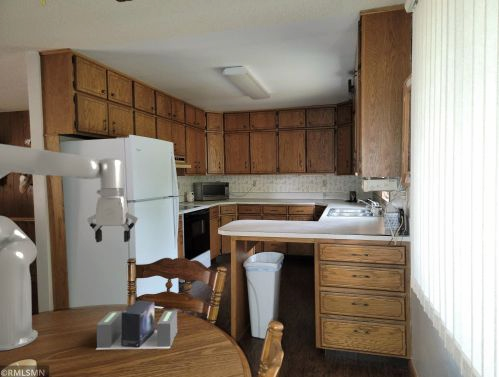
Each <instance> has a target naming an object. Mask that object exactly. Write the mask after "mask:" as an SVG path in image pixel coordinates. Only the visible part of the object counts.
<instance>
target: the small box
mask: <svg viewBox="0 0 499 377" xmlns="http://www.w3.org/2000/svg"><path fill="white" fill-rule="evenodd" d="M155 306H156V305H155V301H152V300H151V301H150V300H149V301H148V300H136V301H135V302H134V303H132V304H131V305H130V306H128V307H126V309H124V310H122V312H121V313H122V319H121V320H122V321H121V323H122V324H121V328H122V331H121V333H122V334H121V346H129V347H140V346H141V345H142V344H143V343H144V342H145V341H146V340H147V339H148V338H149V337H150V336H151V335H152V334H153V333H154V332H155V330H156V329H155V320H156V319H155V314H156V313H155V308H156V307H155Z"/></svg>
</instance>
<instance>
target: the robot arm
mask: <svg viewBox="0 0 499 377" xmlns="http://www.w3.org/2000/svg"><path fill="white" fill-rule="evenodd" d="M10 173H15V174H16V173H18V174H26V175H35V176H44V177H45V176H57V177H66V178H74V179H82V180H93V179H96V180H97V179H100V188H99V189H98V190H97V191H96V194H97V195H99V197H97V202H96V209H95V214H94V215H92V216H90V217H88V218H87V219H86V220H87V222H88V224H89V226H90V228H92V230H93V231H94V239H95V242H96V243H100V242H102V241H103V230H102V228H103V227H123V229H124V231H123V242H124V243H127V242H129V241H130V240H131V230H132V228H134V227H135V225H136V224H137V221H138V219H139V218H138V217H137V216H135V215H133V214H131V213H129V208H128V203H127V198H126V196H125V194H124V191H125V189H124V186H125V185H124V182H125V181H124V180H125V179H124V161H123V160H122V159H121V158H117V157H116V158H111V157H109V158H108V157H107V158H103V159H98V158H94V157H91V156H87V155H81V154H74V153H67V152H57V151H51V150H47V149H41V148H33V147H25V146H18V145H11V144H5V143H4V144H3V143H0V179H2V178H4V177H5V176H7V175H8V174H10ZM94 220H95V221H94ZM129 220H131V223H130V224H129ZM36 257H38V248H37V246H36V244H35V242H33V241H32V240H31V238H30V237H29V236H28V235H27V234H26V233H25V232H24V231H23V229H21V228H20V227H19V226H18V225H17V224H16V223H15V221H13V220H12V219H11V218H8V217H7V216H3V215H0V352H1V351H9V350H13V349H15V350H16V349H18V348H21V347H23V346H27V345H29V344H31V343H32V342H33V341H35V340H36V339H37V338H38V336H39V335H38V334H39V333H38V331H37V330H35V329H33V325H32V324H33V317H32V316H33V315H32V313H33V311H32V309H33V308H32V280H31V279H32V277H31V272H30V265H31V264H32V263H33V262H34V261H35V260H36Z"/></svg>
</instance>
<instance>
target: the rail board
mask: <svg viewBox="0 0 499 377" xmlns="http://www.w3.org/2000/svg"><path fill="white" fill-rule="evenodd" d="M177 332H178V329H177ZM171 346H172V345H171ZM171 346H170V347H157V329H155V332H154V333H153V334H152V335H151V336H150V337H149V338H148V339H147V340H146V341H145V342H144V343H143V344H142V345H141V346H140V347H129V346H121V335H120V336H119V337H118V339H117V340H116V341H115V342H114V344H113V345H112V346H111V348H97V347H96V349H95V351H96V350H97V351H98V350H103V351H104V350H143V349H144V350H149V349H150V350H151V349H153V350H154V349H156V350H157V349H171Z"/></svg>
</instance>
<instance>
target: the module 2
mask: <svg viewBox="0 0 499 377" xmlns="http://www.w3.org/2000/svg"><path fill="white" fill-rule="evenodd" d="M156 330H157V347H170V346H172V344H173V342H174V339H175V337H176V335H177V333H178V331H177V330H178V310H164V311H163V313H162V315H161V317H160V318H159V320H158V321H157V323H156ZM170 348H171V347H170Z"/></svg>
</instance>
